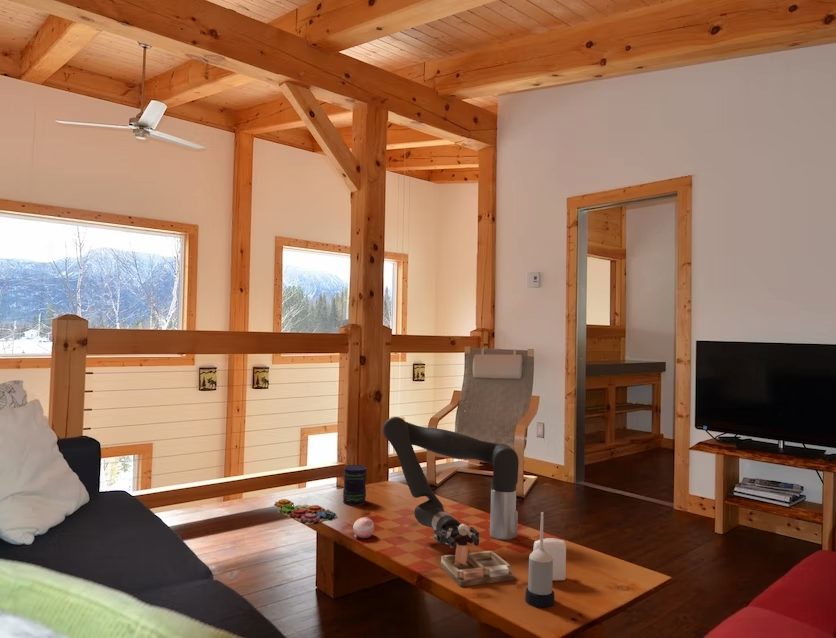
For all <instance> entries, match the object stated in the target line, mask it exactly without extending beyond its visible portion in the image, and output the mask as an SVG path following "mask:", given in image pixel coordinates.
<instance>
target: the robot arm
mask: <svg viewBox="0 0 836 638" xmlns="http://www.w3.org/2000/svg"><path fill="white" fill-rule="evenodd" d="M382 435H383V437H384V438H385V439H386V440H387V441H389V443H390V444H391V446H392V448H393V450H394V451H395V454H396V456H397V458H398V461H399V463H400V466H401V467H400V468H401V470H402V472H403V476H404V478H405V481H406V485H407V486H408V489H409V491H410V494H411V495H412V497H413V498H415V499H416V498H422V497H426V498H427V499H428V500H426V501H424V502H422V503H420V504H418V505H416V507H415V508H414V513H413V514H414V518H415V519H416V521H417V522H418V523H419V524H421V525H422V526H424V527H427V528H432V529H433V530H434V531H433V539H434V540H435V541H436V542H437V543H439V544H440V545H443V544H445V545H448V546H449V547H450V546H451V547H452V548H453V549H456V547H457V543H456V541H455V540H454V538H455V537H456V536H457V535H460V533H459V531H458V527H459V525H461V524H462V523H461V522H460V521H458V520H457V519H456V517H454V516H453V515H451V514H450V513H448V512H447V511H445V508H444V505H443V503H442V502H441V500H440V499H439V498H438V497H437V496H436V494H435V493H434V491H433V490H432V489H431V487H430V485H429V482H428V480H427V477H426V475H425V472H424V470H423V469H422V466H421V464H420V461H419V459H418V458H417V455H416V452H415V450H414V447H413V446H416V447H418V448H421V449H424V450H426V451H429V452H432V453H435V454H438V455H441V456H445V457H448V458H452V459H453V458H454V459H459V460H461V459H463V460H475V461H476V460H477V461H481V462H483V463H487V464H489V465H492V466H493V471H492V472H493V473H492V480H491V483H490V513H489V514H490V517H489V519H490V522H489V535H490V537H491V538H494V539H497V540H512V539H514V538H518V517H519V516H518V515H519V513H518V511H517V510H516V506H517V485H518V480H519V466H520V465H519V456H518V454H517V452H516V451H515V449H513V448H512V447H511V446H509V445H508V444H504V443H503V444H502V443H498V442H491V441H483V440H481V439H478V438H477V439H476V438H474V437H473V436H469V435H466V434H463V433H459V432H456V431H452V430H447V429H443V428H437V427H436V428H435V427H427V426H420V425H416V424H413V423H410V422H407V421H406V420H405V419H403V418H402V417H400V416H393V417H390V418H388V419H387V420H385V422H384V423H383V425H382ZM466 535H467V536H469V537H471V538H472V539H473V540H474V541H473V542H474V544H475V547H478V546H479V544H480V532H479V531H478V530H477V529H476V528H475V527H473V526H471V527H469V530H468V532H467V534H466ZM451 547H450V548H451ZM452 548H451V549H452Z"/></svg>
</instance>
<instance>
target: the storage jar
mask: <svg viewBox="0 0 836 638" xmlns="http://www.w3.org/2000/svg"><path fill="white" fill-rule="evenodd" d="M343 469H344V470H343V481H344V485H343V490H342V499H343V501H342V503H343V504H344V505H347V506H361V505H364V504H366V497H367V489H366V481H367V466H365V465H361V464H348V465H345V466H344V467H343Z"/></svg>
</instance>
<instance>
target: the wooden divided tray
mask: <svg viewBox="0 0 836 638" xmlns="http://www.w3.org/2000/svg"><path fill="white" fill-rule="evenodd" d="M440 557H441V558H440V565H439V566H440V568H441V569H443V570H444V572H445V573H446V574H447V575H448V576H449V577H450V578H451V579H452V580H453V581H454V582H455V583H456V584H457V585H458V586H459V587H460V588H461V587H469V586H477V585H485V584H486V583H487V584H494V582H495V583H500V582H508V581H509V582H510V580H511V581H515V574H514V573H512V572H511V564H509V563H508V562H507V561H506V560H504V559H503V558H502V557H501V556H499V555H498V554H497V553H495V552H494V550H486V551H477V552H476V551H475V552H468V557H467V564H468V565H467V566H463V565H462V564H460V565H459V566H455V565H454V563H455V554H445V555H441V556H440Z"/></svg>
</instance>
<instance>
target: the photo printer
mask: <svg viewBox="0 0 836 638" xmlns="http://www.w3.org/2000/svg"><path fill="white" fill-rule="evenodd" d="M539 547H540V539H538V540H537V539H536V540H535V541H534V542H533V548H532V549H533V551H534V550H536V549H538V548H539ZM543 548H544V550H546V551H548V552H549V553H550V555H551V556H552V558H553V578H552V581H565V580H566V578H567V577H566V574H567V573H566V572H567V563H566V562H567V545H566V542H565V541H564V540H562V539H559V538H552V537H547V538H543ZM533 551H532V552H533Z"/></svg>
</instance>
